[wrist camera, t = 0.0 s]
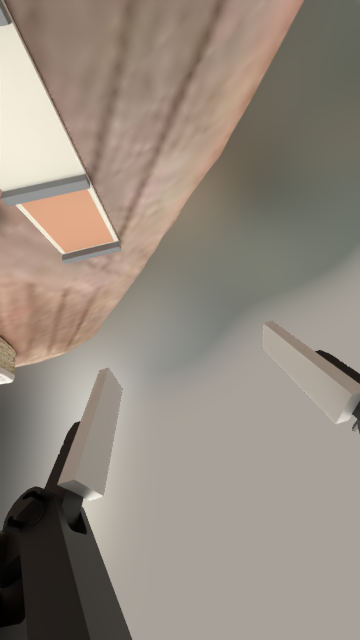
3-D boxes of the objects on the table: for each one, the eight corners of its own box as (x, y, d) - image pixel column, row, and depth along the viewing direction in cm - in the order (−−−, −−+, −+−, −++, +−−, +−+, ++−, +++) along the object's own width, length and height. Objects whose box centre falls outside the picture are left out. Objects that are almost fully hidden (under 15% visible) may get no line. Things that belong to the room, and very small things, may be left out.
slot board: (-155, 18, 15) (-175, 22, 13) (1, -6, 15) (-6, -4, 14) (66, 255, 40) (65, 263, 39) (119, 242, 41) (121, 250, 40)
